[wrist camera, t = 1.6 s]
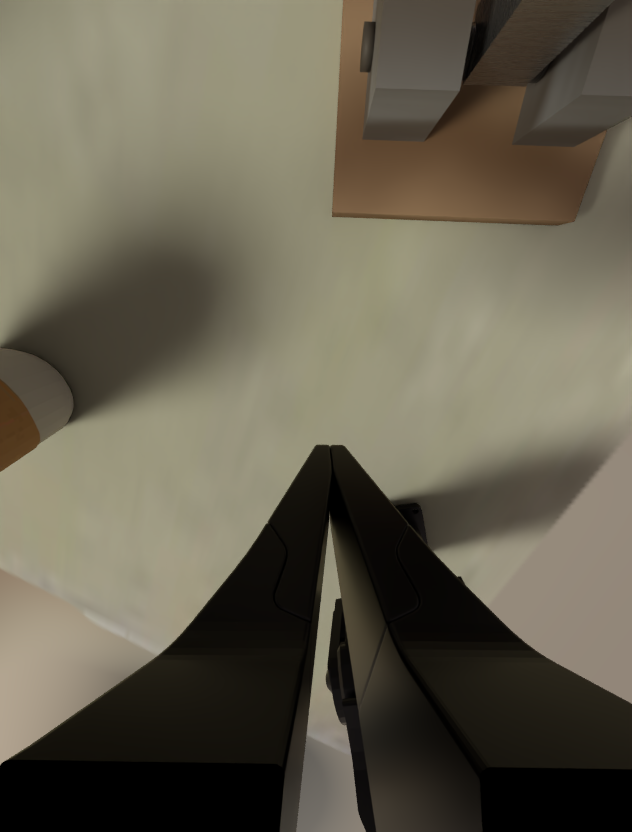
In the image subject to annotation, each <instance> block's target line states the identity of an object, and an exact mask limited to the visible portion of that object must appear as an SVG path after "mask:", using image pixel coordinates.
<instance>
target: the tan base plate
mask: <svg viewBox="0 0 632 832" xmlns="http://www.w3.org/2000/svg"><path fill="white" fill-rule="evenodd" d="M480 1H481V0H343V15H342V35H341V54H340V73H339V93H338V112H337V131H336V150H335V170H334V189H333V208H332V217H353V218H379V219H404V220H430V221H455V222H481V223H507V224H532V225H561V224H566V223H570V222H574V221H575V218H576V216H577V213H578V210H579V207H580V204H581V202H582V199H583V196H584V193H585V190H586V188H587V185H588V182H589V179H590V176H591V174H592V171H593V168H594V165H595V162H596V160H597V157H598V154H599V151H600V148H601V146H602V143H603V140H604V137H605V134H606V132H607V129H609V128H611V127H613V126H615V125H616V124H618V123H620V122H622V121H624V120H626V119H628V118H630V117H632V0H614V1H613V2H612V3H611V4H610V5H609V6H608V7H607V8H606V9H605V10H604V11H603V12H602V13H601V14H600V15H599V16H598V17H597V18H596V19H594V20H593V21H592V22H591V23H590V24H589V25H588V26H587V27H586V28H585V29H584V30H583V31H582V32H581V33H580V34H579V35H578V36H577V37H576V38H575V39H574V40H573V41H572V42H571V43H570V44H569V45H568V46H567V47H565V48H564V49H563V50H562V51H561V52H560V53H559V54H558V55H557V56H556V57H555V58H554V59H553V60H552V61H551V62H550V64H549V66H548V68H547V70H546V72H545V73H544V75H543V76H542V77H541V79H540V80H539V81H538V82H536V83H528V84H527V85H526V86H525V87H521V86H490V85H463V81H462V76H463V70H464V65H465V59H466V54H467V49H468V43H469V38H470V32H471V27H472V22H474V21H475V16H476V10H477V6H478V4H479V3H480Z"/></svg>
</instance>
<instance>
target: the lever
mask: <svg viewBox="0 0 632 832" xmlns="http://www.w3.org/2000/svg"><path fill="white" fill-rule="evenodd" d="M613 1H614V0H481V1H480V3H479V4H478V6H477V10H476V16H475V21H474V22H472V27H471V32H470V38H469V43H468V49H467V54H466V59H465V65H464V70H463V76H462V81H463V85H490V86H521V87H525V86H526V85H527V84H528V83H536V82H538V81H539V80H540V79H541V77H542V76H543V75H544V73H545V72H546V70H547V68H548V66H549V64H550V62H551V61H552V60H553V59H554V58H555V57H556V56H557V55H558V54H559V53H560V52H561V51H562V50H563V49H564V48H565V47H567V46H568V45H569V44H570V43H571V42H572V41H573V40H574V39H575V38H576V37H577V36H578V35H579V34H580V33H581V32H582V31H583V30H584V29H585V28H586V27H587V26H588V25H589V24H590V23H591V22H592V21H593V20H594V19H596V18H597V17H598V16H599V15H600V14H601V13H602V12H603V11H604V10H605V9H606V8H607V7H608V6H609V5H610V4H611V3H612V2H613Z"/></svg>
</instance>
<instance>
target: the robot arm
mask: <svg viewBox="0 0 632 832" xmlns="http://www.w3.org/2000/svg"><path fill="white" fill-rule="evenodd" d="M414 509H416V510H414ZM329 513H330V524H331V532H332V538H333V545H334V552H335V558H336V565H337V572H338V578H339V585H340V592H341V598H340V599H336V602H335V611H334V612H333V620H332V629H331V638H330V647H329V656H328V670H327V673H326V684H327V687H328V689H329V690H330V691H331V692H332V694H333V700H334V704H335V709H336V712H337V715H338V718H339V720H340V722H341V724H343V725H347V731H348V737H349V743H350V748H351V754H352V760H353V769H354V777H355V786H356V796H357V804H358V812H359V815H360V818H361V821H362V823H363V825H364V828H365V830H366V832H632V704H631V703H629V702H628V701H626V700H624V699H622V698H620V697H618V696H616V695H615V694H613V693H611V692H609V691H607V690H605V689H603V688H601V687H600V686H598V685H596V684H594V683H592V682H590V681H589V680H587V679H585V678H583V677H581V676H579V675H577V674H576V673H574V672H572V671H570V670H568V669H566V668H564V667H562V666H561V665H559V664H557V663H555V662H553V661H552V660H550V659H548V658H546V657H545V656H543V655H542V654H540V653H539V652H537V651H536V650H535V649H533V648H532V647H530V646H529V645H528V644H526V643H525V642H524V641H523V640H522V639H520V638H519V637H518V636H517V635H516V634H515V633H513V632H512V631H511V630H510V629H509V628H508V627H507V626H506V625H505V624H504V623H503V622H502V621H501V620H500V619H499V618H498V617H497V616H496V615H495V614H494V613H493V612H492V611H491V610H490V609H489V608H488V607H487V606H486V605H485V604H484V603H483V602H482V601H481V600H480V599H479V598H478V597H477V596H476V595H475V594H474V593H473V592H472V591H471V590H470V589H469V588H468V587H467V586H466V585H465V583H464V582H463V580H462V578H461V576H460V577H457V576H456V575H455V574H454V573H453V572H452V571H451V570H450V569H449V568H448V567H447V566H446V565H445V564H444V563H443V562H442V561H441V560H440V559H439V558H438V557H437V556H436V555H435V554H434V552H433V551H432V550H431V549H430V548H429V547H428V545H427V539H426V533H425V527H424V521H423V515H422V510H421V507H420V505H419V504H417V503H413V504H407V505H402V506H397V507H395V506H394V505H393V504H392V503H391V502H390V500H389V499H388V498H387V497H386V496H385V494H384V493H383V492H382V491H381V490H380V488H379V487H378V486H377V485H376V483H375V482H374V481H373V480H372V479H371V477H370V476H369V475H368V474H367V473H366V471H365V470H364V469H363V468H362V467H361V465H360V464H359V463H358V462H357V461H356V459H355V458H354V457H353V456H352V454H351V453H350V452H349V451H348V450H347V448H346V447H345V446H343V445H331V446H329V445H316V446H315V447H314V449H313V450H312V452H311V454H310V455H309V457H308V458H307V460H306V462H305V463H304V465H303V466H302V468H301V469H300V471H299V473H298V474H297V476H296V477H295V479H294V481H293V482H292V484H291V485H290V487H289V489H288V490H287V492H286V493H285V495H284V497H283V498H282V500H281V501H280V503H279V504H278V506H277V508H276V509H275V511H274V512H273V514H272V516H271V517H270V519H269V520H268V523H267V524H266V525H265V526H264V528H263V530H262V531H261V533H260V534H259V536H258V537H257V539H256V540H255V542H254V543H253V545H252V546H251V548H250V549H249V551H248V552H247V554H246V555H245V556H244V557H243V559H242V560H241V561H240V563H239V564H238V565H237V567H236V568H235V569H234V570H233V572H232V573H231V574H230V575H229V577H228V578H227V579H226V580H225V582H224V583H223V584H222V585H221V586H220V588H219V589H218V590H217V591H216V593H215V594H214V595H213V596H212V597H211V599H210V600H209V601H208V602H207V604H206V605H205V606H204V607H203V609H202V610H201V611H200V612H199V613H198V615H197V616H196V617H195V618H194V620H193V621H192V622H191V623H190V624H189V626H188V627H187V628H186V629H185V630H184V631H183V633H182V634H181V635H180V636H179V637H178V638H177V639H176V640H175V641H174V642H173V643H172V644H171V645H170V646H169V647H167V648H166V649H165V650H164V651H163V652H162V653H160V654H159V655H158V656H157V657H155V658H154V659H153V660H151V661H150V662H149V663H147V664H146V665H144V666H143V667H141V668H140V669H138V670H137V671H136V672H134V673H133V674H132V675H130V676H128V677H127V678H126V679H124V680H123V681H121V682H120V683H119V684H117V685H116V686H114V687H113V688H111V689H110V690H108V691H107V692H106V693H104V694H103V695H101V696H100V697H98V698H97V699H96V700H94V701H93V702H91V703H90V704H88V705H87V706H86V707H84V708H83V709H81V710H80V711H78V712H77V713H76V714H74V715H73V716H71V717H70V718H68V719H67V720H66V721H64V722H63V723H61V724H60V725H58V726H57V727H56V728H54V729H53V730H51V731H50V732H48V733H47V734H46V735H44V736H43V737H41V738H40V739H38V740H37V741H35V742H34V743H33V744H31V745H30V746H28V747H27V748H25V749H24V750H22V751H20V752H19V753H17V754H15V755H14V756H12V757H11V758H9V759H8V760H6V761H4V762H3V763H2V764H1V765H0V832H296V828H297V819H298V818H297V817H298V809H299V800H300V790H301V781H302V772H303V761H304V752H305V743H306V734H307V724H308V715H309V706H310V696H311V687H312V677H313V668H314V658H315V649H316V640H317V630H318V621H319V611H320V602H321V592H322V583H323V574H324V564H325V555H326V545H327V536H328V527H329Z"/></svg>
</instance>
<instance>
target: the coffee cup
mask: <svg viewBox="0 0 632 832" xmlns="http://www.w3.org/2000/svg"><path fill="white" fill-rule="evenodd" d="M73 408H74V405H73V396H72V393H71V390H70V388H69V386H68V384H67V383H66V381H65V379H64V378H63V377H62V376H61V375H60V374H59V372H58V371H57V370H56V369H55V368H53V367H52V366H51V365H50V364H48V363H47V362H46V361H44V360H42V359H40V358H39V357H37V356H35V355H32V354H29V353H26V352H23V351H16V350H13V349H5V348H0V472H1V471H2V470H4V469H5V468H7V467H8V466H10V465H11V464H13V463H14V462H16V461H17V460H18V459H20V458H21V457H23V456H24V455H26V454H27V453H29V452H30V451H32V450H33V449H35V448H36V447H37V445H38V444H39V443H41V442H42V441H44V440H45V439H47V438H48V437H50V436H51V435H53V434H54V433H56V432H57V431H59V430H60V429H62V428H63V427H64V426H65V425H66V423H67V422H68V420H69V417H70V416H71V414H72V411H73Z"/></svg>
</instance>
